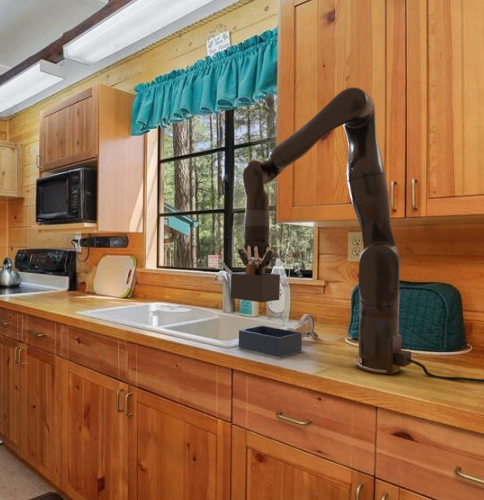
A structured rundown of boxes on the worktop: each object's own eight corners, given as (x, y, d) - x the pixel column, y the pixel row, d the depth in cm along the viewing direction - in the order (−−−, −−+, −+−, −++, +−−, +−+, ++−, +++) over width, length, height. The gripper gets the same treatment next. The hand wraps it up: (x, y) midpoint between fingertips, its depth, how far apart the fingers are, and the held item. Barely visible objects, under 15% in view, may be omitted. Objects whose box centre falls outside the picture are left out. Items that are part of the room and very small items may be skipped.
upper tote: (279, 299, 136) (280, 264, 136) (261, 302, 130) (262, 265, 130) (248, 295, 145) (249, 262, 145) (230, 297, 139) (231, 263, 138)
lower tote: (301, 352, 132) (301, 332, 132) (278, 359, 124) (279, 338, 124) (261, 343, 143) (261, 325, 142) (238, 349, 135) (238, 329, 134)
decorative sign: (290, 355, 140) (287, 325, 139) (286, 354, 141) (283, 325, 140) (318, 337, 151) (316, 310, 150) (315, 337, 152) (312, 309, 151)
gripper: (231, 225, 139) (230, 278, 140) (268, 224, 129) (267, 282, 130) (246, 225, 144) (244, 277, 145) (282, 225, 134) (281, 281, 135)
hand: (255, 279), depth 137 cm, fingers closed on upper tote, 1 cm apart
